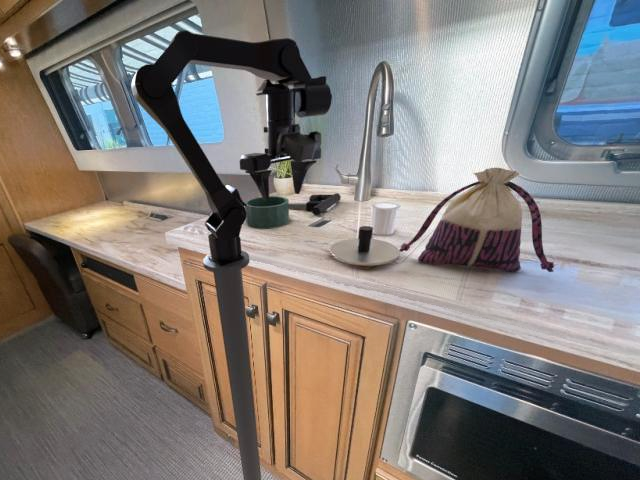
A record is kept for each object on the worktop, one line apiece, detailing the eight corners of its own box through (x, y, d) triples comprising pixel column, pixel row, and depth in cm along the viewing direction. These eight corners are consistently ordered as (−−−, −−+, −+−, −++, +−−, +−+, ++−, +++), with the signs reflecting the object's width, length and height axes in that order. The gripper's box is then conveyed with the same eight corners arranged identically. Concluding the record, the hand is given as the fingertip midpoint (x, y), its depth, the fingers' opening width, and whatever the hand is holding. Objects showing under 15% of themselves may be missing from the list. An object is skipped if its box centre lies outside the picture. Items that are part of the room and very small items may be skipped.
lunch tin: (263, 231, 91) (262, 210, 88) (238, 222, 102) (236, 202, 98) (297, 220, 97) (297, 200, 94) (270, 213, 107) (270, 194, 104)
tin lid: (318, 260, 70) (319, 233, 66) (344, 239, 79) (346, 215, 76) (386, 274, 61) (391, 244, 58) (406, 248, 71) (411, 222, 68)
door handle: (278, 206, 105) (323, 206, 96) (303, 192, 119) (344, 192, 110) (279, 216, 107) (323, 217, 98) (303, 201, 120) (344, 201, 111)
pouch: (396, 267, 65) (414, 170, 55) (398, 252, 71) (415, 162, 61) (553, 284, 54) (610, 168, 44) (540, 265, 60) (588, 159, 50)
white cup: (394, 227, 85) (399, 201, 81) (396, 236, 79) (401, 209, 76) (368, 227, 87) (371, 201, 83) (368, 235, 81) (371, 208, 78)
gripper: (269, 123, 53) (272, 213, 61) (343, 113, 61) (337, 194, 69) (235, 125, 61) (241, 204, 70) (304, 116, 70) (302, 188, 78)
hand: (282, 197), depth 71 cm, fingers open, 9 cm apart
